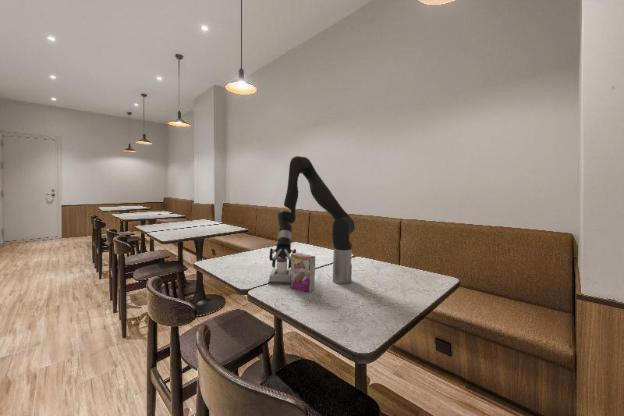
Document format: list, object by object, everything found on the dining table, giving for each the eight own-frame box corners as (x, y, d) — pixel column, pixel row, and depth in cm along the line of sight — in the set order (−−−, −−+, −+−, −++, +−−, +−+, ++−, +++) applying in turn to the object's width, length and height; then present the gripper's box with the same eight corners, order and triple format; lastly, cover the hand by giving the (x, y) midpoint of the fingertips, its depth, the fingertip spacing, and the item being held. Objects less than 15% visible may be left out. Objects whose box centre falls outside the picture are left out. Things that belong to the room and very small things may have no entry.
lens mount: (294, 276, 145) (294, 268, 144) (292, 284, 133) (292, 276, 132) (271, 275, 145) (271, 268, 144) (268, 284, 133) (268, 275, 132)
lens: (287, 276, 141) (287, 257, 141) (286, 279, 136) (286, 260, 136) (277, 275, 141) (277, 257, 141) (276, 279, 136) (276, 259, 136)
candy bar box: (289, 287, 129) (290, 254, 127) (295, 284, 133) (296, 252, 132) (309, 293, 123) (310, 258, 121) (314, 289, 127) (315, 255, 126)
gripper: (270, 236, 144) (266, 263, 134) (297, 236, 144) (295, 264, 134) (271, 243, 150) (268, 270, 140) (297, 244, 150) (295, 271, 140)
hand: (281, 267), depth 137 cm, fingers open, 7 cm apart
